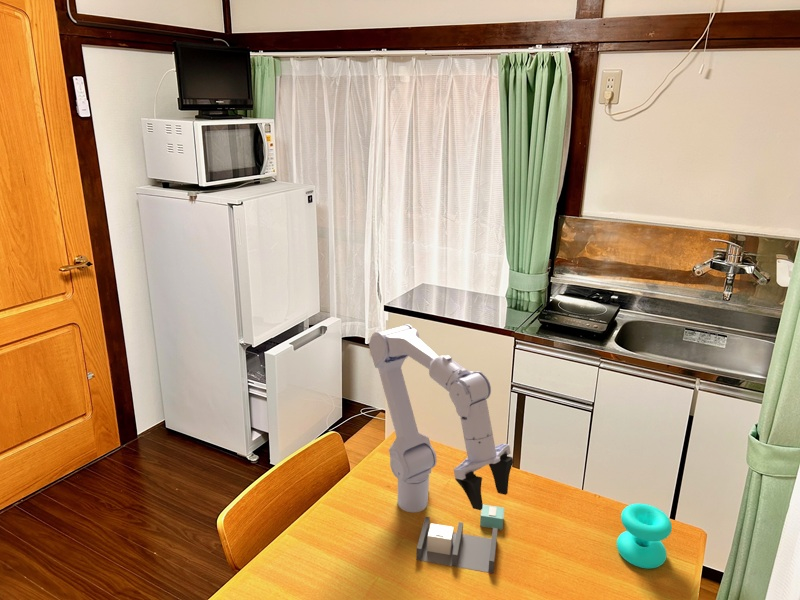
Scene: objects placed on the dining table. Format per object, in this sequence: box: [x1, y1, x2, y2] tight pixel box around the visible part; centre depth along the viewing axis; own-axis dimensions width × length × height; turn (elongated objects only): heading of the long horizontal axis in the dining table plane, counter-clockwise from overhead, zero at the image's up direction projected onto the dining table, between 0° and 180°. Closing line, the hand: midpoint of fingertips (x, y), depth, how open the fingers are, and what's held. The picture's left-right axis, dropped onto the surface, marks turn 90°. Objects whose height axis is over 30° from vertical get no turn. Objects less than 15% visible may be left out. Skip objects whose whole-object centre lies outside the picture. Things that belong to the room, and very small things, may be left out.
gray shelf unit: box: [415, 516, 499, 574], centre depth 128 cm, size 10×16×4 cm, turn 77°
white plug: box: [427, 522, 455, 555], centre depth 129 cm, size 4×5×4 cm
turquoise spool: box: [616, 503, 673, 569], centre depth 128 cm, size 10×10×10 cm
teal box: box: [479, 503, 505, 530], centre depth 136 cm, size 4×5×4 cm
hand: (490, 500), depth 119 cm, fingers open, 7 cm apart
